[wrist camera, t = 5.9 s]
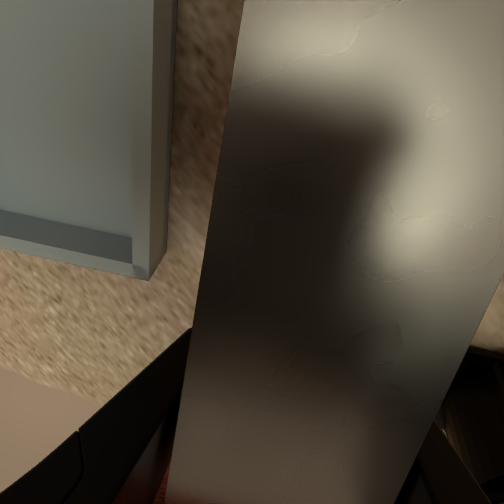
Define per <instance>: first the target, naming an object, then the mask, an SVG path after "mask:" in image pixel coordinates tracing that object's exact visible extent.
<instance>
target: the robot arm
mask: <svg viewBox="0 0 504 504" xmlns="http://www.w3.org/2000/svg"><path fill="white" fill-rule="evenodd" d="M191 332H192V328H189V329H188V330H187V331H186V332H184V333H183V334H182V335H181V336H180V337H179V338H178V339H177V340H176V341H174V342H173V343H172V344H171V345H170V346H169V347H168V348H167V349H166V350H165V351H163V352H162V353H161V354H160V355H159V356H158V357H157V358H156V359H155V360H154V361H152V362H151V363H150V364H149V365H148V366H147V367H146V368H145V369H144V370H142V371H141V372H140V373H139V374H138V375H137V376H136V377H135V378H134V379H133V380H131V381H130V382H129V383H128V384H127V385H126V386H125V387H124V388H123V389H122V390H120V391H119V392H118V393H117V394H116V395H115V396H114V397H113V398H112V399H110V400H109V401H108V402H107V403H106V404H105V405H104V406H103V407H102V408H101V409H99V410H98V411H97V412H96V413H95V414H94V415H93V416H92V417H91V418H90V419H88V420H87V421H86V422H85V423H84V424H83V425H82V426H81V427H80V428H79V429H78V430H79V432H78V431H75V432H74V433H73V434H72V435H70V436H69V437H68V438H67V439H66V440H65V441H64V442H63V443H62V444H61V445H59V446H58V447H57V448H56V449H55V450H54V451H52V452H51V453H50V454H49V455H48V456H47V457H46V458H45V459H43V460H42V461H41V462H40V463H39V464H37V465H36V466H35V467H34V468H32V469H31V470H30V471H28V472H27V473H26V474H25V475H23V476H22V477H21V478H19V479H18V480H17V481H16V482H14V483H13V484H12V485H10V486H9V487H8V488H6V489H5V490H4V491H2V492H1V493H0V504H153V502H154V500H155V497H156V495H157V492H158V490H159V488H160V485H161V483H162V480H163V478H164V476H165V473H166V471H167V468H168V466H169V464H170V461H171V458H172V451H173V445H174V439H175V433H176V426H177V420H178V414H179V407H180V401H181V395H182V389H183V382H184V376H185V370H186V364H187V357H188V351H189V345H190V339H191ZM465 356H468V357H465ZM465 356H464V358H463V360H462V362H461V364H460V366H459V368H458V370H457V372H456V374H455V377H454V379H453V381H452V383H451V385H450V387H449V389H448V391H447V393H446V395H445V398H444V400H443V402H442V404H441V406H440V408H439V410H438V412H437V414H436V416H435V418H434V421H433V423H432V425H431V427H430V429H429V431H428V433H427V435H426V437H425V439H424V442H423V444H422V446H421V448H420V450H419V452H418V454H417V456H416V458H415V460H414V463H413V465H412V467H411V469H410V471H409V473H408V475H407V477H406V479H405V481H404V484H403V486H402V488H401V490H400V492H399V494H398V496H397V498H396V500H395V502H394V504H504V355H503V354H499V353H494V352H490V351H485V350H480V349H476V348H471V347H468V349H467V351H466V353H465ZM441 429H444V430H445V432H446V436H447V437H446V436H445V434H444V433H443V432H442V430H441Z"/></svg>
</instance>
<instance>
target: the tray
mask: <svg viewBox="0 0 504 504" xmlns="http://www.w3.org/2000/svg"><path fill="white" fill-rule="evenodd" d="M177 3H178V0H0V248H2V249H6V250H11V251H15V252H20V253H24V254H29V255H33V256H38V257H42V258H47V259H51V260H56V261H60V262H65V263H69V264H74V265H78V266H83V267H87V268H92V269H96V270H101V271H105V272H110V273H114V274H119V275H123V276H128V277H132V278H137V279H141V280H146V281H149V280H150V278H151V276H152V275H153V273H154V271H155V270H156V268H157V266H158V265H159V263H160V261H161V259H162V258H163V256H164V254H165V253H166V246H167V223H168V201H169V179H170V157H171V135H172V113H173V91H174V69H175V47H176V25H177Z"/></svg>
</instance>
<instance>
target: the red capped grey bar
mask: <svg viewBox="0 0 504 504" xmlns="http://www.w3.org/2000/svg"><path fill="white" fill-rule="evenodd" d="M503 274H504V0H245V1H244V7H243V13H242V20H241V26H240V32H239V38H238V45H237V51H236V57H235V63H234V70H233V76H232V82H231V88H230V95H229V101H228V107H227V113H226V120H225V126H224V132H223V138H222V145H221V151H220V157H219V163H218V170H217V176H216V182H215V188H214V195H213V201H212V207H211V214H210V220H209V226H208V232H207V239H206V245H205V251H204V257H203V264H202V270H201V276H200V282H199V289H198V295H197V301H196V307H195V314H194V320H193V326H192V332H191V339H190V345H189V351H188V357H187V364H186V370H185V376H184V382H183V389H182V395H181V401H180V407H179V414H178V420H177V426H176V433H175V439H174V445H173V451H172V458H171V461H170V464H169V466H168V468H167V471H166V473H165V476H164V478H163V480H162V483H161V485H160V488H159V490H158V492H157V495H156V497H155V500H154V502H153V504H394V502H395V500H396V498H397V496H398V494H399V492H400V490H401V488H402V486H403V484H404V481H405V479H406V477H407V475H408V473H409V471H410V469H411V467H412V465H413V463H414V460H415V458H416V456H417V454H418V452H419V450H420V448H421V446H422V444H423V442H424V439H425V437H426V435H427V433H428V431H429V429H430V427H431V425H432V423H433V421H434V418H435V416H436V414H437V412H438V410H439V408H440V406H441V404H442V402H443V400H444V398H445V395H446V393H447V391H448V389H449V387H450V385H451V383H452V381H453V379H454V377H455V374H456V372H457V370H458V368H459V366H460V364H461V362H462V360H463V358H464V356H465V353H466V351H467V349H468V347H469V345H470V343H471V341H472V339H473V337H474V335H475V333H476V330H477V328H478V326H479V324H480V322H481V320H482V318H483V316H484V314H485V312H486V309H487V307H488V305H489V303H490V301H491V299H492V297H493V295H494V293H495V291H496V288H497V286H498V284H499V282H500V280H501V278H502V276H503Z"/></svg>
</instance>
